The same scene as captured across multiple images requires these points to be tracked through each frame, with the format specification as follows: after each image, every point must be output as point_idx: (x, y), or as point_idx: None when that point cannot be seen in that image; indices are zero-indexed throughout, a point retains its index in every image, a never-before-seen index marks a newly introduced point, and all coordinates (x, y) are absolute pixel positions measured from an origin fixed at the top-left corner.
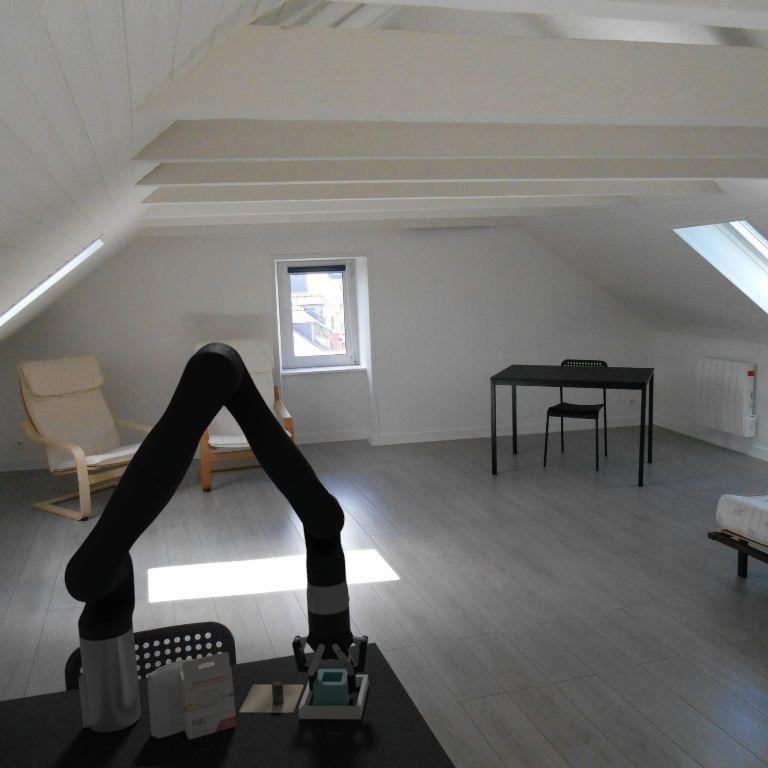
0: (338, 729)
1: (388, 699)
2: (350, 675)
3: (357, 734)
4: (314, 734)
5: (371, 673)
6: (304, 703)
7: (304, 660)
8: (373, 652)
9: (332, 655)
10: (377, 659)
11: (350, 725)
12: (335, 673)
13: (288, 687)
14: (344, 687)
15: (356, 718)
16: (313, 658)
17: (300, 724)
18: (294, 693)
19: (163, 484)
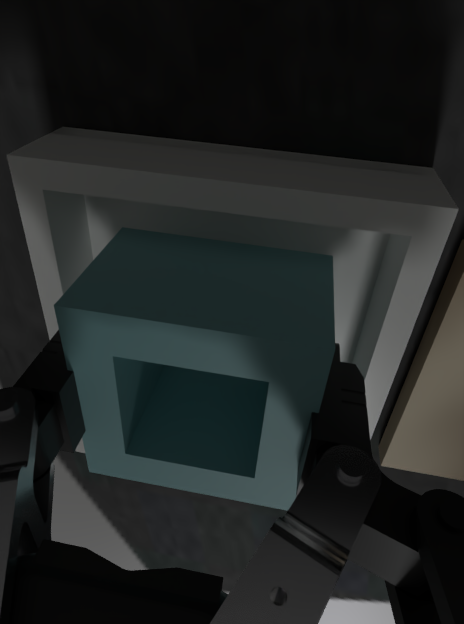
0: (182, 79)
1: (6, 325)
2: (23, 389)
3: (53, 4)
4: (338, 22)
5: (121, 478)
6: (404, 261)
7: (409, 603)
8: (141, 559)
9: (83, 607)
10: (120, 532)
11: (120, 121)
12: (181, 456)
13: (459, 461)
14: (77, 296)
15: (69, 137)
16: (314, 620)
17: (426, 162)
18: (435, 417)
19: None
